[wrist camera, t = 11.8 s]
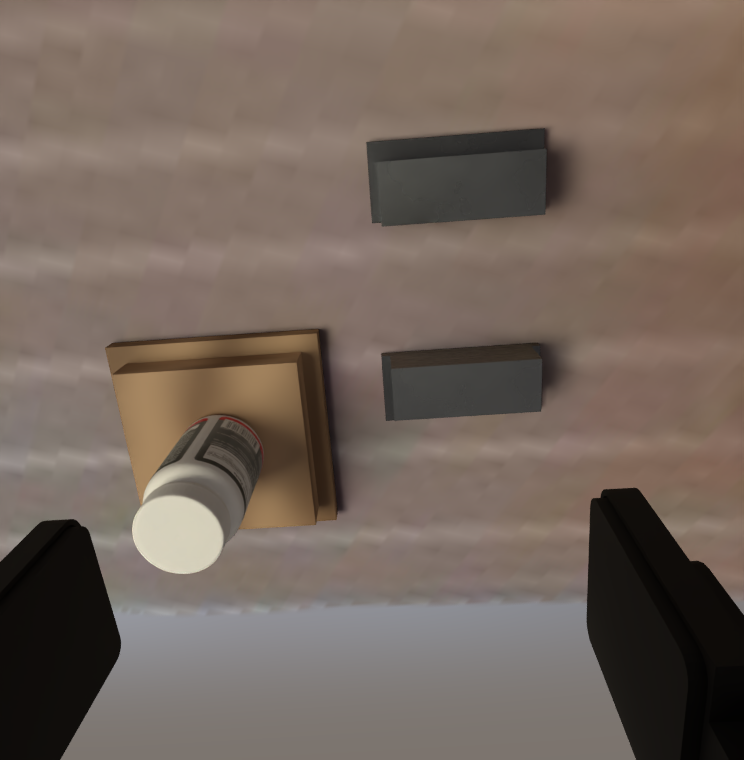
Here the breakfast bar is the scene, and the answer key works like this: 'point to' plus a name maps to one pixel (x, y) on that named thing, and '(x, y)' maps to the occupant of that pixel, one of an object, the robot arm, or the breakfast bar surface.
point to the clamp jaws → (457, 203)
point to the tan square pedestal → (235, 412)
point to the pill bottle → (199, 495)
